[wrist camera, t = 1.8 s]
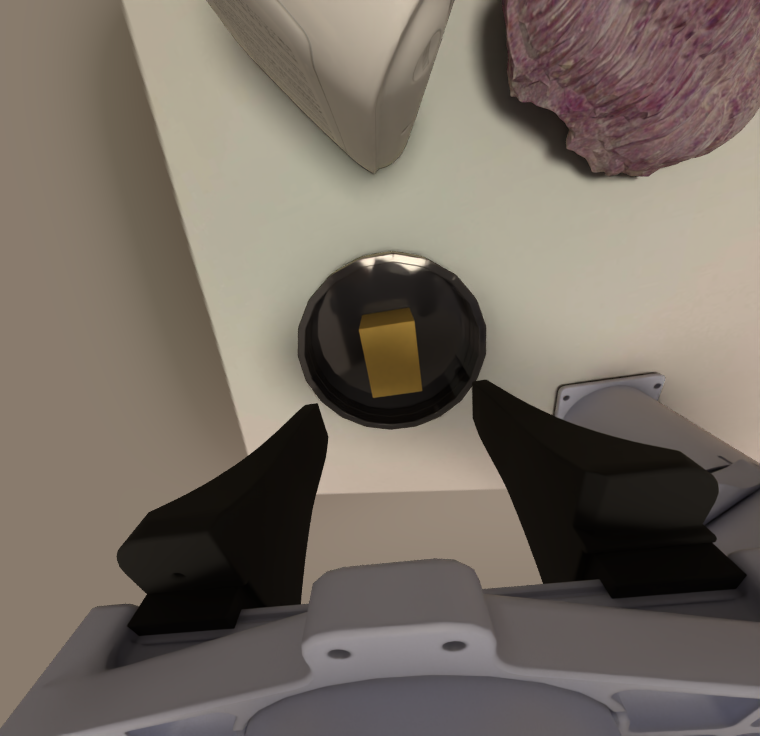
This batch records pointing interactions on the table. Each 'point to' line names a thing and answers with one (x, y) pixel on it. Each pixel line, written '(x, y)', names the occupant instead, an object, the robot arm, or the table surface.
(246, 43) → the photo printer
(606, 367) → the table surface
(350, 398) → the pan
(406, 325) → the cheese
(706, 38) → the fossil
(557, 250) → the table surface
